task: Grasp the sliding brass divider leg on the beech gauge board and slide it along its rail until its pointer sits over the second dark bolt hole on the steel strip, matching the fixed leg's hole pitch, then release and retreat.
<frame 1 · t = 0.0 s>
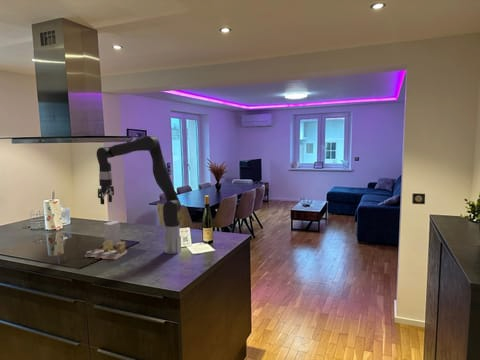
hand: (106, 203, 204), 29 cm above the table, fingers open, 8 cm apart
gauge board: (106, 254, 192), on the table
skincare box: (112, 245, 211), on the table
slider leg: (106, 247, 192), point 5 cm above the table, slide at 0.0 cm
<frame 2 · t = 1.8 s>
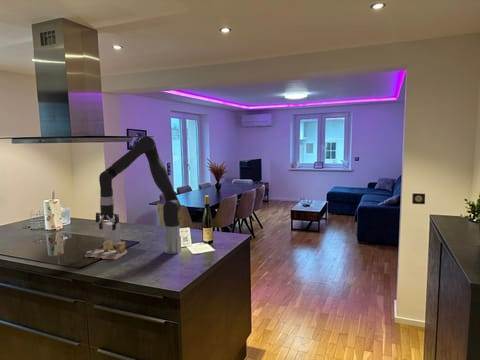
hand: (107, 229, 193), 15 cm above the table, fingers open, 8 cm apart
nothing on the table moved.
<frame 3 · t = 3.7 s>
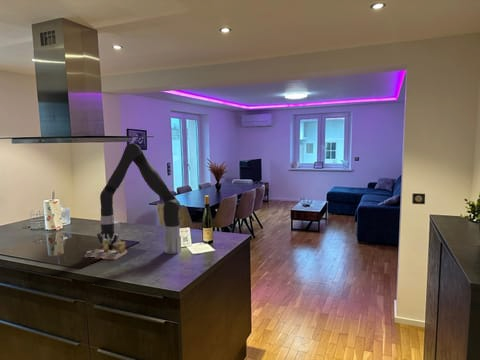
hand: (108, 249, 194), 3 cm above the table, fingers closed on slider leg, 3 cm apart
slider leg: (106, 247, 192), point 5 cm above the table, slide at 0.0 cm, touching gripper
everything else where it was.
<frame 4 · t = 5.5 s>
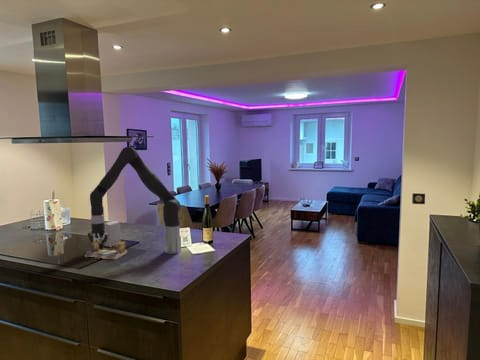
hand: (98, 248, 195), 3 cm above the table, fingers closed on slider leg, 3 cm apart
slider leg: (97, 246, 193), point 5 cm above the table, slide at 6.4 cm, touching gripper
everything else where it was.
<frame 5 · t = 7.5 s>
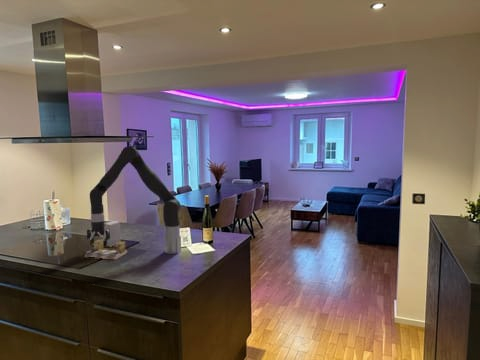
hand: (98, 245, 195), 5 cm above the table, fingers open, 8 cm apart
slider leg: (97, 246, 193), point 5 cm above the table, slide at 6.5 cm
everything else where it was.
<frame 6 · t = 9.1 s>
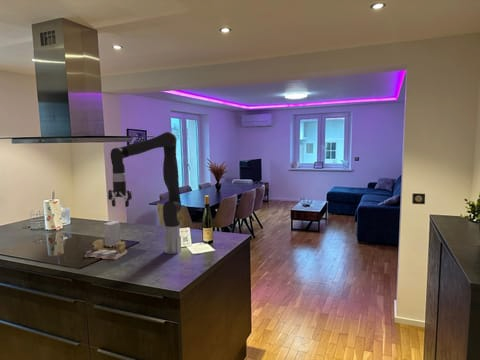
hand: (120, 206, 194), 29 cm above the table, fingers open, 8 cm apart
nothing on the table moved.
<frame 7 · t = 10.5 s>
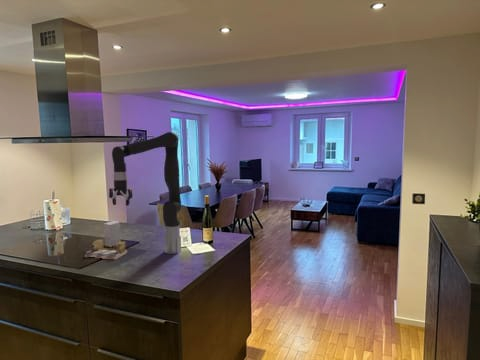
hand: (121, 205, 194), 30 cm above the table, fingers open, 8 cm apart
nothing on the table moved.
at the end: slider leg slide at 6.5 cm; the gripper is holding nothing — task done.
